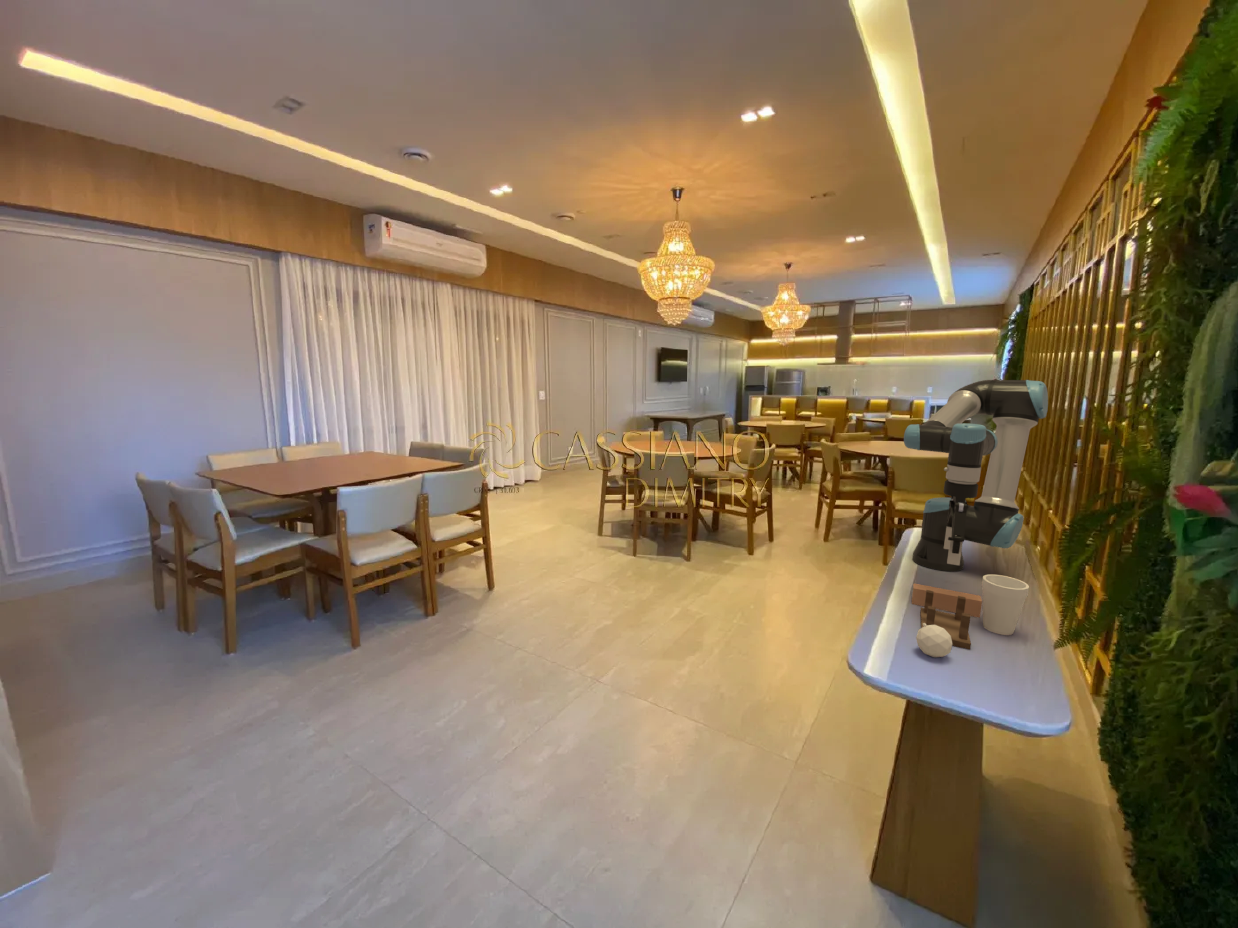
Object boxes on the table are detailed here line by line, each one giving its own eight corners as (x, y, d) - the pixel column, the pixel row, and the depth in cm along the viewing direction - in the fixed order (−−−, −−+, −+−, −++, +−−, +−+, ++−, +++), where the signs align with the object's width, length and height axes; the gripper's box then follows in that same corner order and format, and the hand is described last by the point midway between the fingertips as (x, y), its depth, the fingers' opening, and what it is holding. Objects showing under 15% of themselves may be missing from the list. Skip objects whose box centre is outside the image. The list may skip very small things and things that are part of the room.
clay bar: (911, 604, 143) (913, 588, 142) (911, 599, 147) (913, 583, 146) (979, 618, 135) (982, 601, 134) (977, 612, 139) (980, 595, 138)
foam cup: (1008, 641, 123) (1016, 592, 121) (968, 624, 131) (975, 578, 129) (1028, 632, 127) (1036, 585, 125) (988, 617, 136) (995, 572, 133)
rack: (920, 612, 138) (923, 586, 136) (963, 621, 133) (967, 595, 132) (921, 638, 124) (925, 610, 123) (970, 649, 119) (974, 620, 118)
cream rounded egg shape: (932, 664, 113) (912, 630, 115) (924, 659, 120) (905, 627, 122) (963, 653, 111) (942, 618, 114) (953, 648, 118) (934, 615, 121)
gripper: (942, 472, 147) (933, 541, 151) (948, 488, 125) (937, 568, 129) (973, 475, 143) (963, 545, 147) (984, 491, 122) (972, 574, 126)
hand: (951, 556), depth 138 cm, fingers open, 13 cm apart
